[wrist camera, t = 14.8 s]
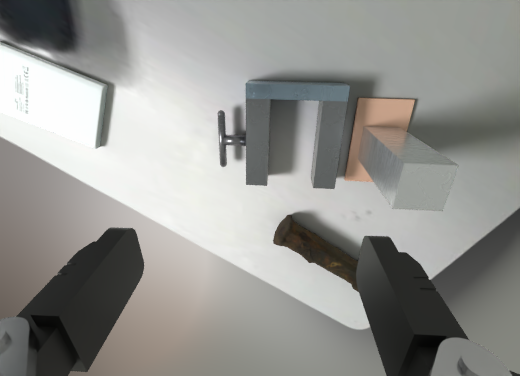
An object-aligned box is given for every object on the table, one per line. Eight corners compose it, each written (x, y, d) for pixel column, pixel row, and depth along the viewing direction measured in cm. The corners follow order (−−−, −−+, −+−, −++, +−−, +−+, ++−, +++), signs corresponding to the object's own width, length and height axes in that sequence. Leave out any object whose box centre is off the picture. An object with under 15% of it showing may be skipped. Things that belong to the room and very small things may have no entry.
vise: (219, 79, 31) (213, 82, 28) (344, 83, 30) (350, 85, 28) (223, 173, 36) (218, 183, 34) (330, 178, 35) (334, 188, 33)
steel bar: (363, 125, 32) (404, 163, 21) (399, 126, 32) (458, 165, 21) (357, 158, 34) (392, 208, 23) (391, 159, 33) (442, 211, 23)
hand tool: (271, 228, 40) (270, 249, 36) (288, 209, 38) (289, 229, 34) (368, 289, 44) (376, 315, 40) (387, 275, 42) (398, 300, 38)
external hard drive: (102, 145, 36) (6, 109, 35) (110, 84, 33) (4, 41, 32) (94, 149, 35) (-6, 111, 34) (102, 86, 31) (-9, 40, 30)
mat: (358, 97, 31) (358, 98, 31) (413, 99, 31) (414, 99, 30) (344, 179, 35) (345, 180, 35) (392, 181, 35) (393, 182, 35)
